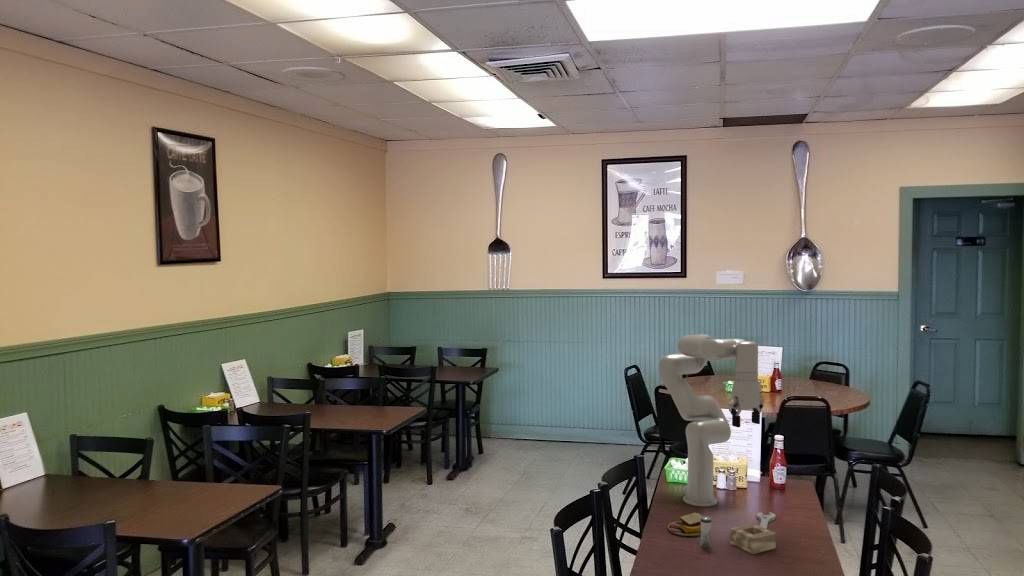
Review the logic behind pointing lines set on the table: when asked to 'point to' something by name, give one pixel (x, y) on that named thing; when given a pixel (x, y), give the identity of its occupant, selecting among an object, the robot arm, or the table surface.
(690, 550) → the table surface
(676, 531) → the toy sandwich meal
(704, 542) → the metal peg
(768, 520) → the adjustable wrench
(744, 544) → the block
